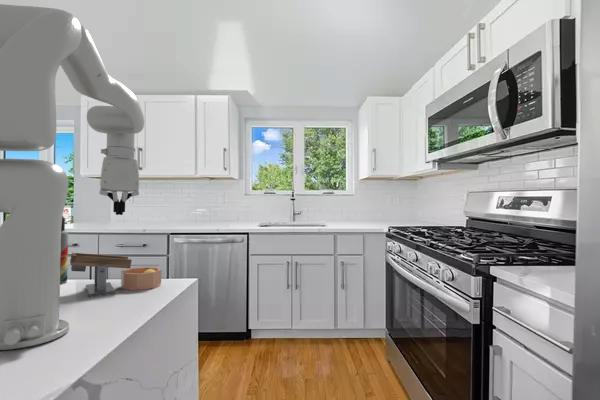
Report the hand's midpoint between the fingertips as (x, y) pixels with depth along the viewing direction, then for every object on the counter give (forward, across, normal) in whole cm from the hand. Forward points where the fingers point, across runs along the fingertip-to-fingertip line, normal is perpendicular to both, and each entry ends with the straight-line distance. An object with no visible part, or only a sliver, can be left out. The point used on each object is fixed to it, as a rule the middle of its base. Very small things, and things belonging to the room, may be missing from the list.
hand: (119, 214), depth 106 cm
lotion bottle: (+21, -15, +9) cm, 27 cm away
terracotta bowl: (+21, +5, -8) cm, 23 cm away
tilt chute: (+15, -6, -4) cm, 17 cm away
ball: (+18, +7, -8) cm, 21 cm away
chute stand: (+21, -5, -8) cm, 23 cm away
